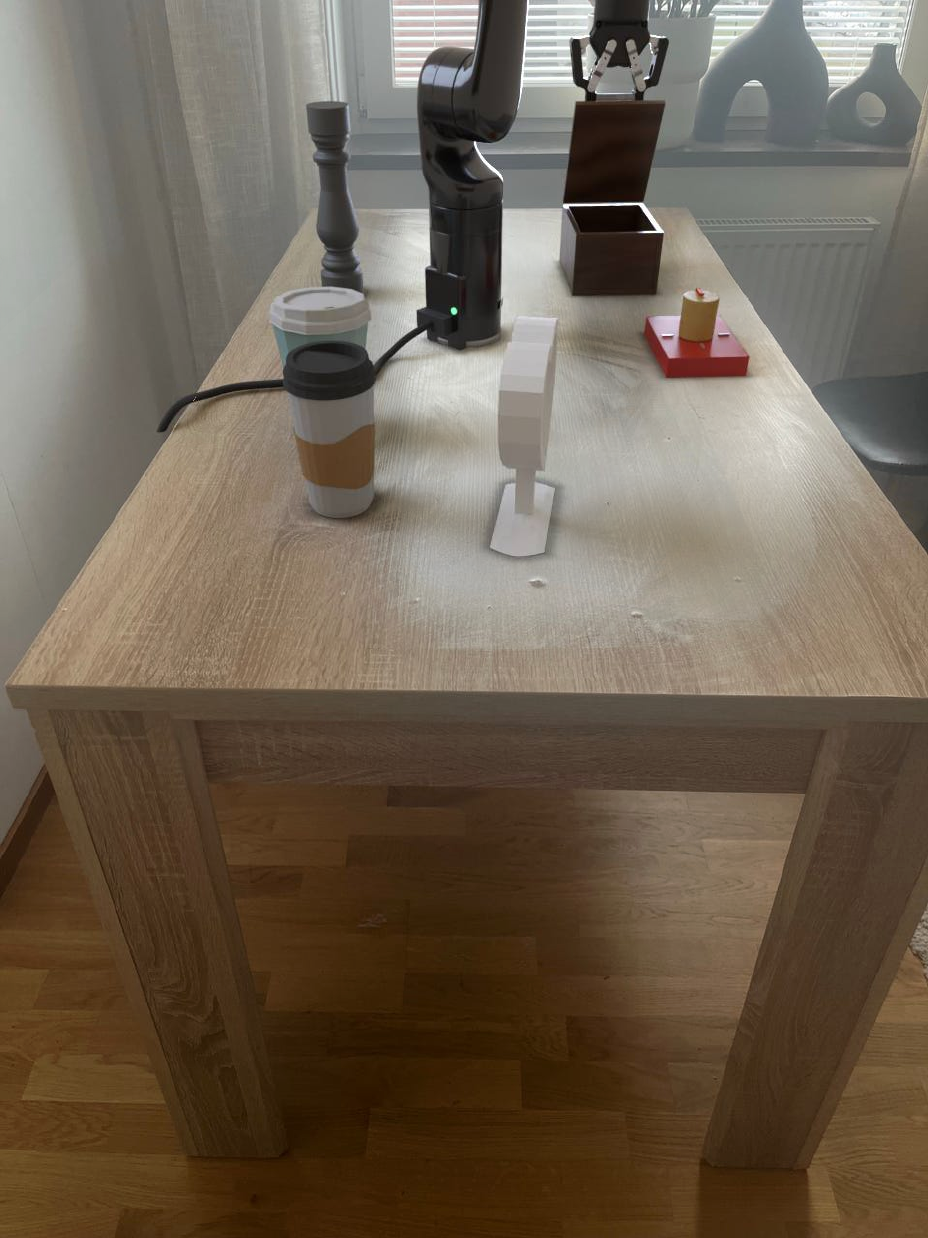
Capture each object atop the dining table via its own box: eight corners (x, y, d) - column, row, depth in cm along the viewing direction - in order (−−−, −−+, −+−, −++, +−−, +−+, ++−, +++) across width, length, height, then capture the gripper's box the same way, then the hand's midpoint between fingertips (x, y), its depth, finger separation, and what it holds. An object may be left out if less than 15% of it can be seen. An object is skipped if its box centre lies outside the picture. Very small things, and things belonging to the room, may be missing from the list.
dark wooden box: (656, 294, 137) (664, 232, 131) (572, 295, 137) (576, 233, 131) (636, 261, 149) (642, 203, 144) (559, 262, 149) (562, 204, 143)
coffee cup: (342, 472, 95) (328, 331, 86) (401, 499, 91) (393, 353, 82) (281, 505, 90) (259, 359, 81) (341, 535, 86) (325, 384, 77)
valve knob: (717, 341, 116) (724, 299, 113) (682, 341, 116) (688, 299, 113) (708, 328, 119) (715, 287, 116) (674, 328, 119) (680, 287, 116)
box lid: (665, 103, 128) (661, 79, 131) (575, 104, 128) (572, 80, 130) (643, 201, 143) (639, 178, 145) (562, 203, 143) (560, 179, 145)
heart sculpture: (542, 565, 82) (553, 373, 71) (486, 559, 83) (489, 369, 72) (556, 478, 94) (568, 303, 83) (508, 474, 95) (513, 300, 84)
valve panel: (746, 375, 114) (750, 355, 112) (665, 377, 114) (668, 356, 112) (717, 333, 125) (720, 313, 123) (643, 334, 125) (646, 315, 123)
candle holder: (361, 300, 135) (347, 108, 120) (319, 300, 135) (300, 108, 120) (366, 286, 140) (353, 100, 125) (325, 286, 140) (307, 100, 125)
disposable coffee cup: (274, 415, 106) (255, 283, 97) (364, 400, 109) (355, 271, 100) (295, 457, 98) (277, 318, 89) (391, 439, 101) (384, 303, 92)
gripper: (574, -19, 121) (566, 125, 131) (683, -20, 121) (666, 124, 132) (567, -22, 127) (560, 116, 137) (670, -23, 127) (656, 115, 138)
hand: (612, 119), depth 134 cm, fingers closed on box lid, 5 cm apart
